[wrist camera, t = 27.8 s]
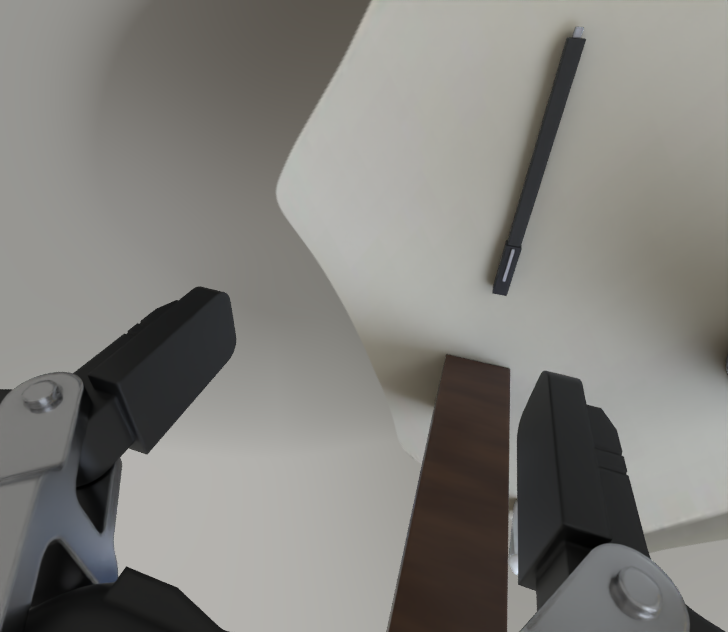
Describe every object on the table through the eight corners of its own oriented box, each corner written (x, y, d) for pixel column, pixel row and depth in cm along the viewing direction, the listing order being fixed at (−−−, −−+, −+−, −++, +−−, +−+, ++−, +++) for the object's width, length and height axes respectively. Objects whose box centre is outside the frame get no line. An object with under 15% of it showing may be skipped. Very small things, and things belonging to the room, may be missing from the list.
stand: (490, 438, 51) (468, 819, 26) (425, 421, 53) (347, 762, 28) (525, 349, 42) (540, 797, 17) (445, 331, 44) (356, 716, 19)
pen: (506, 289, 39) (506, 297, 38) (492, 286, 39) (492, 294, 38) (589, 27, 27) (592, 27, 26) (568, 26, 27) (570, 26, 26)
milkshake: (519, 519, 58) (520, 595, 51) (503, 497, 57) (501, 571, 49) (551, 517, 56) (557, 596, 48) (535, 494, 54) (539, 571, 46)
